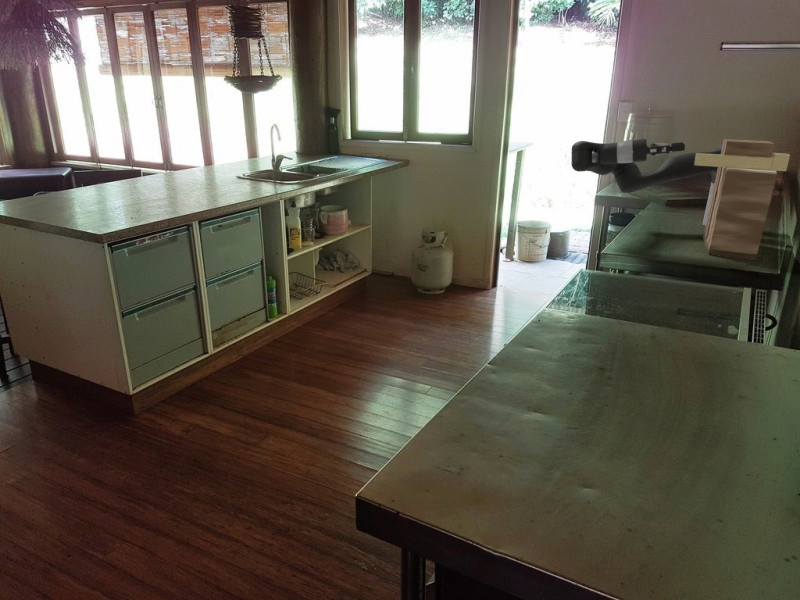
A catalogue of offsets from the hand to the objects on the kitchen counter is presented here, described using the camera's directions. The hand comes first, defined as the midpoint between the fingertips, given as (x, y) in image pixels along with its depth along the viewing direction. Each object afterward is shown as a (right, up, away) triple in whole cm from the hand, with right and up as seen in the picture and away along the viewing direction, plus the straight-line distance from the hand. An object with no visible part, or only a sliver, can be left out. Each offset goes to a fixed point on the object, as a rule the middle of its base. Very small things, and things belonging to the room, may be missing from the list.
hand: (684, 146), depth 190 cm
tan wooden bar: (+16, -8, -4) cm, 18 cm away
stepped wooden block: (+21, -33, +11) cm, 41 cm away
